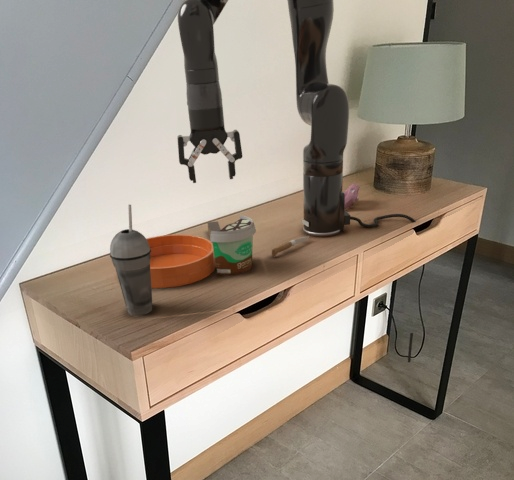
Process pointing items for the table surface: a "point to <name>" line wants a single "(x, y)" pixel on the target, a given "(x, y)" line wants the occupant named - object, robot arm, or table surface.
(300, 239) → the folding knife
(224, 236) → the food container
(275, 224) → the table surface
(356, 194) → the pink toy figure
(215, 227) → the dark brown wooden block
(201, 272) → the bowl
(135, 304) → the beverage cup
